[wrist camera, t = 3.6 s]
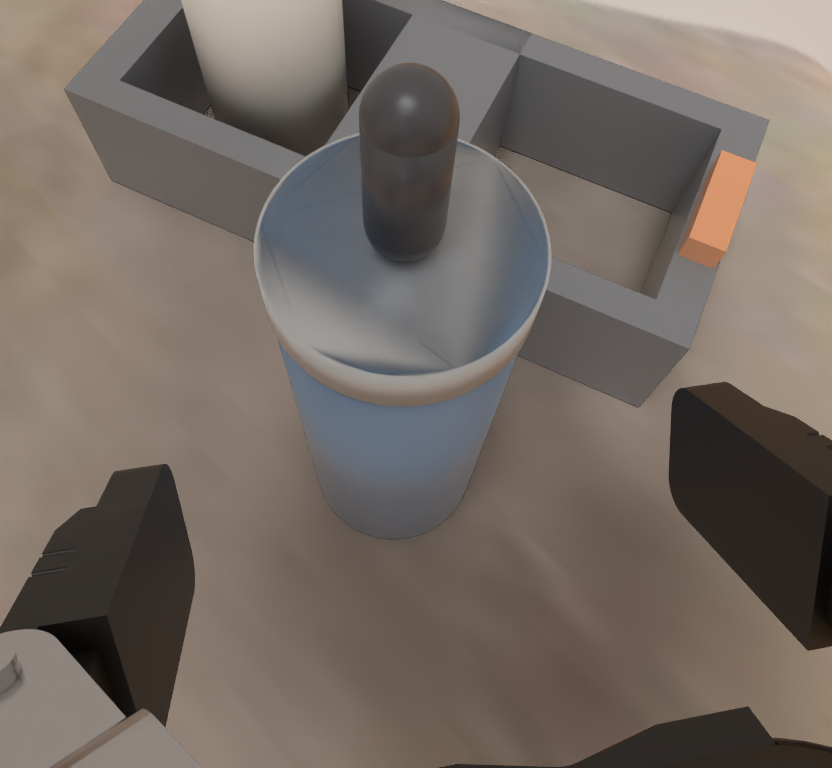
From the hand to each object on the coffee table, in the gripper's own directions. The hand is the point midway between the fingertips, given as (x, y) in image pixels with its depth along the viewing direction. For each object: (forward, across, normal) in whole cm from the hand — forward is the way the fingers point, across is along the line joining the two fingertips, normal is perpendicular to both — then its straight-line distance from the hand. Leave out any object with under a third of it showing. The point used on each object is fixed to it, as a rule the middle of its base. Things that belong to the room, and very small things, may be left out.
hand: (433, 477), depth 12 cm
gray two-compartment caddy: (+15, -2, -2) cm, 16 cm away
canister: (+9, 0, +4) cm, 10 cm away
